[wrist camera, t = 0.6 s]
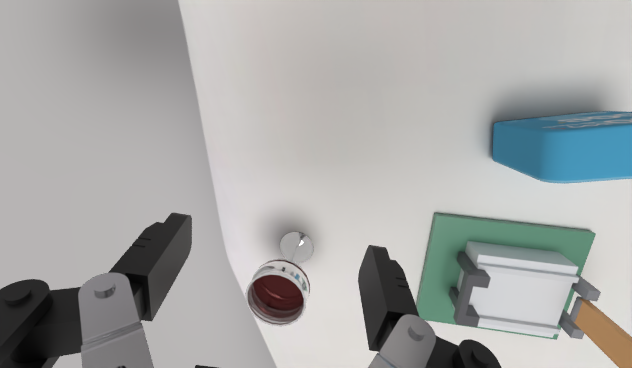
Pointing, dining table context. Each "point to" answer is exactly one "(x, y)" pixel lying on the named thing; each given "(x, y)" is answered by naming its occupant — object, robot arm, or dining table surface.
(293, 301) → the wineglass
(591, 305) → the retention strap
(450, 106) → the dining table surface
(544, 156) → the blue rounded block
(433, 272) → the processor board
